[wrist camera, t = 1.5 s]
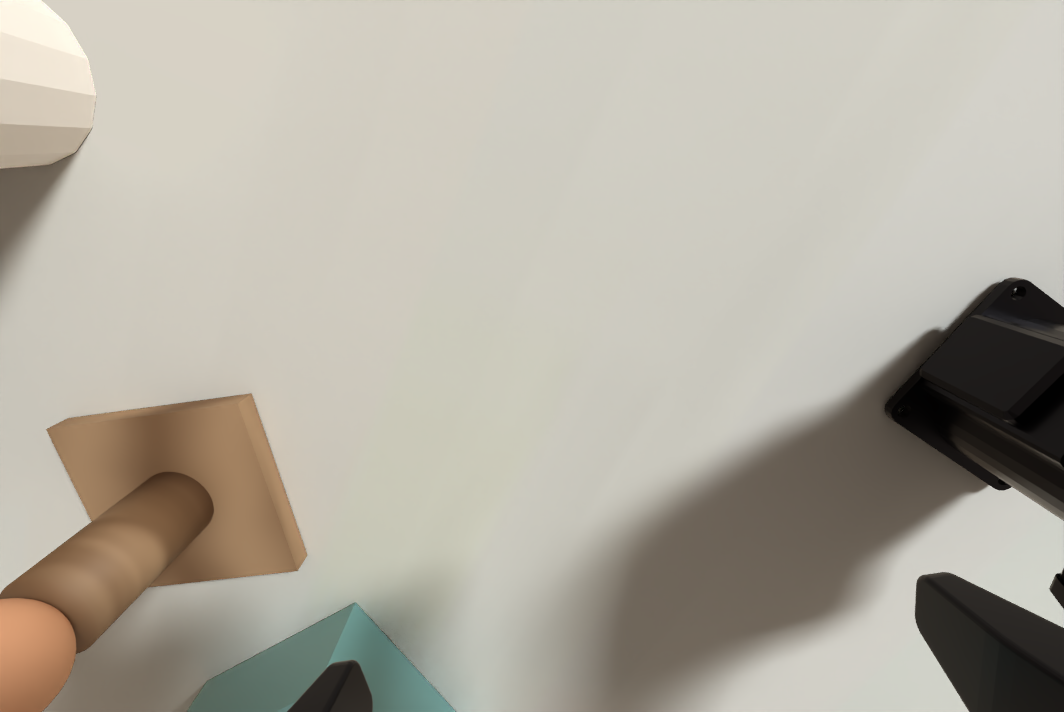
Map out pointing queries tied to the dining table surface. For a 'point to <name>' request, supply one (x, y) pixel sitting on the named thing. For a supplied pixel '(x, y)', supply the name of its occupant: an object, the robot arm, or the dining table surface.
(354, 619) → the teal open-top box
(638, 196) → the dining table surface
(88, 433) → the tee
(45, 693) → the ball
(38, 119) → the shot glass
